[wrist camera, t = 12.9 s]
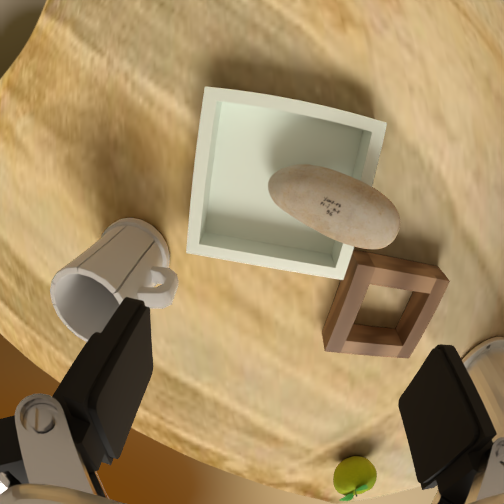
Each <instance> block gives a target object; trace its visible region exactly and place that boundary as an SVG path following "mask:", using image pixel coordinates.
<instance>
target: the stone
mask: <svg viewBox="0 0 504 504" xmlns="http://www.w3.org/2000/svg"><path fill="white" fill-rule="evenodd" d="M268 191H269V194H270V196H271V198H272V200H273V201H274V203H275V204H276V205H277V206H278V207H280V208H281V209H282V210H283V211H285V212H287V213H288V214H290V215H291V216H292V217H294V218H295V219H297V220H299V221H300V222H302V223H303V224H305V225H307V226H309V227H311V228H313V229H314V230H316V231H318V232H320V233H322V234H323V235H325V236H327V237H329V238H331V239H334V240H336V241H339V242H341V243H344V244H347V245H350V246H354V247H358V248H364V249H380V248H384V247H386V246H388V245H389V244H391V243H392V242H393V241H394V240H395V238H396V236H397V234H398V232H399V229H400V216H399V213H398V211H397V209H396V208H395V206H394V205H393V203H392V202H391V201H390V200H389V199H388V198H387V197H386V196H385V195H383V194H382V193H381V192H379V191H378V190H376V189H375V188H373V187H371V186H369V185H367V184H365V183H364V182H362V181H360V180H357V179H355V178H353V177H351V176H348V175H346V174H343V173H341V172H338V171H335V170H333V169H329V168H325V167H321V166H315V165H310V164H297V165H291V166H288V167H285V168H282V169H280V170H278V171H277V172H275V173H274V174H273V175H272V176H271V177H270V179H269V182H268Z"/></svg>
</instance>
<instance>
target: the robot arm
mask: <svg viewBox="0 0 504 504" xmlns="http://www.w3.org/2000/svg"><path fill="white" fill-rule="evenodd" d="M152 372H153V357H152V342H151V323H150V308H149V307H147V306H145V303H144V301H142V300H138V299H134V298H129V297H125V298H124V299H123V301H122V302H121V304H120V305H119V307H118V308H117V310H116V311H115V313H114V314H113V316H112V317H111V318H110V320H109V321H108V323H107V324H106V326H105V327H104V329H103V331H102V332H101V333H99V332H95V333H93V334H92V336H91V337H90V338H89V340H88V341H87V343H86V344H85V346H84V347H83V349H82V350H81V352H80V353H79V355H78V356H77V358H76V360H75V361H74V363H73V364H72V366H71V367H70V369H69V370H68V372H67V374H66V375H65V377H64V378H63V380H62V382H61V383H60V385H59V387H58V388H57V390H56V391H55V393H54V395H53V396H52V397H51V396H49V395H46V394H33V395H30V396H27V397H26V398H25V399H23V400H22V401H21V402H20V403H19V405H18V406H17V409H16V411H15V416H11V417H7V418H3V419H0V504H125V503H121V502H117V501H114V500H111V499H109V498H108V496H107V494H106V492H105V490H104V488H103V486H102V484H101V481H100V479H99V477H98V475H97V472H96V471H97V470H99V467H100V465H101V462H104V463H107V464H110V465H111V463H112V461H113V458H116V459H118V458H119V457H120V455H121V452H122V450H123V447H124V444H125V441H126V439H127V436H128V434H129V431H130V429H131V426H132V423H133V421H134V418H135V416H136V413H137V411H138V408H139V405H140V403H141V400H142V398H143V395H144V393H145V390H146V388H147V385H148V383H149V381H150V378H151V375H152ZM399 410H400V413H401V417H402V420H403V424H404V428H405V431H406V435H407V439H408V443H409V447H410V451H411V455H412V459H413V463H414V467H415V472H416V476H417V480H418V482H419V483H421V487H422V490H424V489H429V488H434V487H435V486H437V485H438V491H437V493H436V495H435V497H434V499H433V501H432V503H431V504H504V337H494V338H491V339H488V340H486V341H484V342H482V343H481V344H479V345H477V346H476V347H475V348H473V349H472V350H471V351H470V352H469V353H468V354H467V355H466V356H465V357H464V358H463V359H462V360H461V358H460V356H459V354H458V352H457V351H456V349H455V347H454V346H452V345H437V346H436V347H435V349H432V351H431V352H430V354H429V355H428V357H427V358H426V360H425V362H424V363H423V365H422V366H421V368H420V369H419V371H418V372H417V374H416V375H415V377H414V378H413V380H412V381H411V383H410V384H409V386H408V387H407V388H406V390H405V391H404V393H403V394H402V395H401V397H400V399H399Z"/></svg>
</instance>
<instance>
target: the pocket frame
mask: <svg viewBox="0 0 504 504" xmlns="http://www.w3.org/2000/svg"><path fill="white" fill-rule="evenodd" d="M449 282H450V281H449V280H448V278H447V277H446V276H445V275H444V273H443V272H442V271H441V270H440V268H439V267H438V266H434V265H429V264H424V263H419V262H414V261H409V260H404V259H399V258H394V257H389V256H384V255H379V254H374V253H369V252H364V251H358V250H353V252H352V256H351V259H350V262H349V265H348V268H347V271H346V274H345V277H344V280H341V281H340V284H339V287H338V290H337V293H336V295H335V298H334V301H333V304H332V307H331V309H330V312H329V315H328V318H327V320H326V323H325V326H324V328H323V331H322V336H323V343H324V349H325V351H328V352H337V353H347V354H358V355H369V356H382V357H397V358H409V357H410V356H411V354H412V352H413V351H414V349H415V347H416V345H417V344H418V342H419V340H420V338H421V337H422V335H423V333H424V331H425V329H426V328H427V326H428V324H429V322H430V320H431V318H432V316H433V314H434V313H435V311H436V309H437V307H438V305H439V303H440V301H441V299H442V297H443V294H444V292H445V290H446V288H447V286H448V284H449ZM369 284H372V285H379V286H385V287H391V288H397V289H403V290H410V291H413V293H412V296H411V298H410V300H409V302H408V304H407V306H406V309H405V311H404V313H403V315H402V317H401V319H400V321H399V323H398V325H397V327H396V329H392V328H383V327H374V326H366V325H357V324H353V323H354V321H355V318H356V316H357V314H358V311H359V309H360V306H361V304H362V302H363V299H364V297H365V294H366V292H367V289H368V286H369Z"/></svg>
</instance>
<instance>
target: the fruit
mask: <svg viewBox="0 0 504 504" xmlns="http://www.w3.org/2000/svg"><path fill="white" fill-rule="evenodd" d="M376 477H377V473H376V469H375V467H374V466H373V464H372V463H371V462H370V461H369V460H368V459H366V458H364V457H361V456H352V457H349V458H346V459H344V460H343V461H342V462H341V463H340V464H339V465H338V466H337V467H336V469H335V472H334V478H333V482H334V487H335V489H336V490H337V491H338V492H339V493H340V494H343V495H345V497H343V498H342V499H340V501H349V500H351V499H352V498H353V496H354V495H356V497H357V494H362V493H364V492H365V491H368V490H370V489H371V488H372V487H373V486H374V484H375V482H376Z"/></svg>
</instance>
